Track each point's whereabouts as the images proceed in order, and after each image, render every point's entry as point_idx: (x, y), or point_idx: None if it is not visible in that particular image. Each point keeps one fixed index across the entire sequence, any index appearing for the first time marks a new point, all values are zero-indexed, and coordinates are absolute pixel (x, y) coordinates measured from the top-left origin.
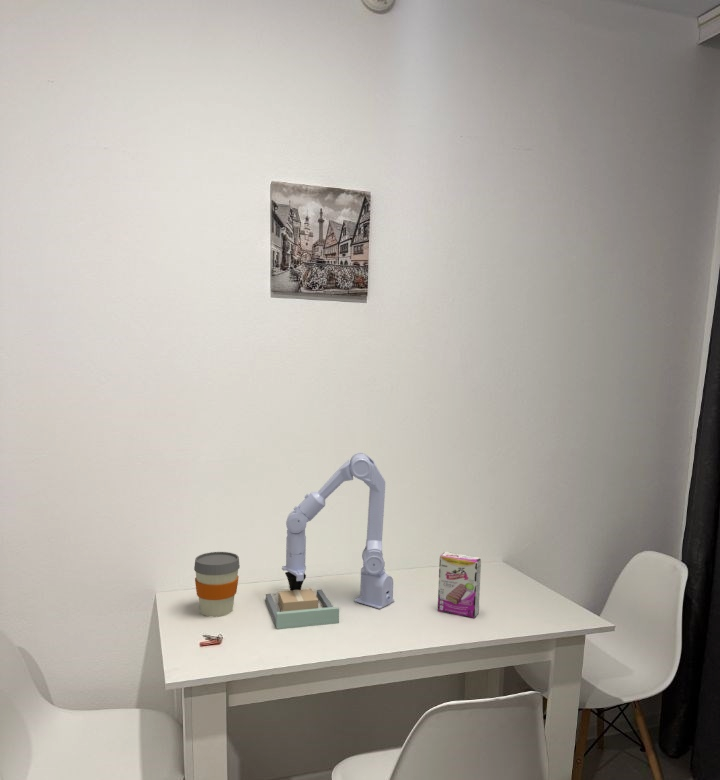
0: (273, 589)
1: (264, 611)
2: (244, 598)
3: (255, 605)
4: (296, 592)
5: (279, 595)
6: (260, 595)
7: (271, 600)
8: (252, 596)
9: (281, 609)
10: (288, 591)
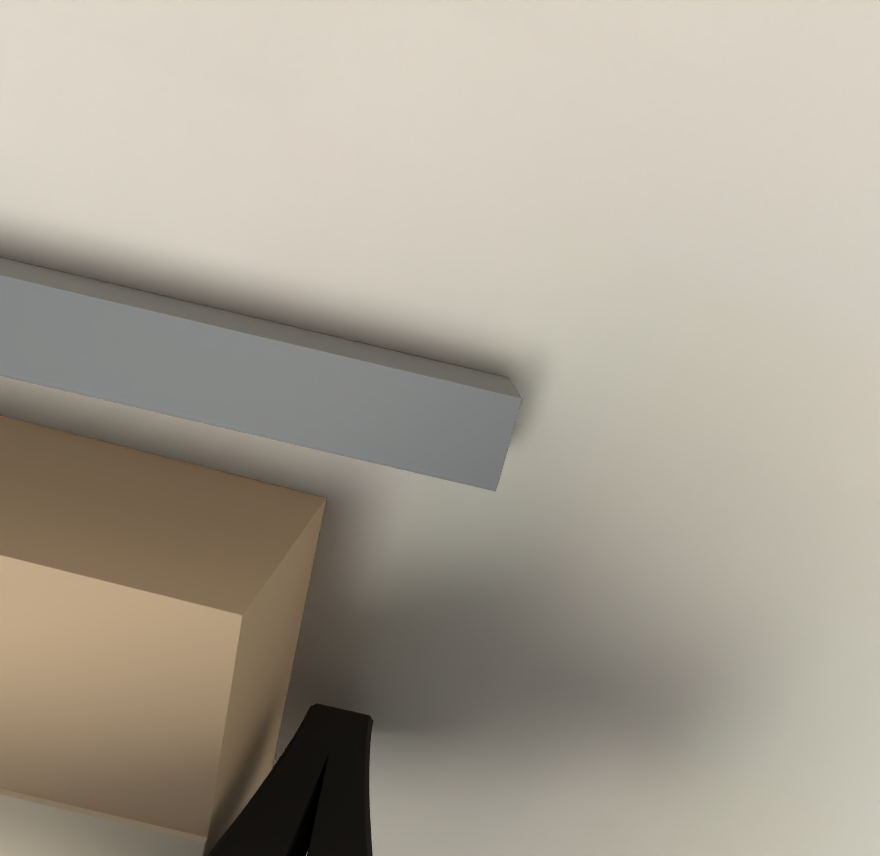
0: (850, 637)
1: (104, 197)
2: (807, 65)
3: (394, 146)
4: (62, 841)
5: (145, 557)
6: (757, 388)
7: (155, 371)
8: (801, 248)
9: (17, 434)
10: (173, 759)
